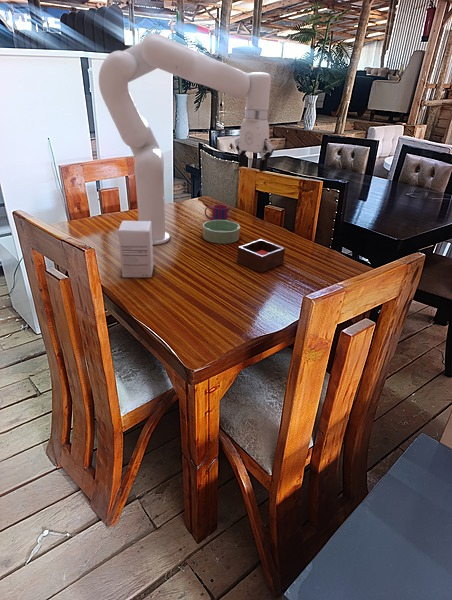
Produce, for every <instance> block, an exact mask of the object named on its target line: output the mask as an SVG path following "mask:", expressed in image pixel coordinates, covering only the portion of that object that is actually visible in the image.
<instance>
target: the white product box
mask: <svg viewBox="0 0 452 600" xmlns="http://www.w3.org/2000/svg"><path fill="white" fill-rule="evenodd" d="M117 233H118V242H119V256H120V265H121V267H120V268H121V276H122V278H152V276H153V270H154V249H153V245H152V227H151V221H138V220H122V221H121V223H120V225H119V228H118V231H117Z"/></svg>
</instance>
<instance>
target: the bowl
mask: <svg viewBox="0 0 452 600" xmlns="http://www.w3.org/2000/svg"><path fill="white" fill-rule="evenodd" d="M201 229H202V239H203V240H205V241H206V242H209V243H213V244H225V245H226V244H233V243H236V242H237V241H239V240H240V237H241V236H240V235H241V234H240V233H241V225H240V224H239V223H237V222H235V221H233V220H229V219H228V220H211V219H210V220H207V221H205V222H203V223H202V228H201Z"/></svg>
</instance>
